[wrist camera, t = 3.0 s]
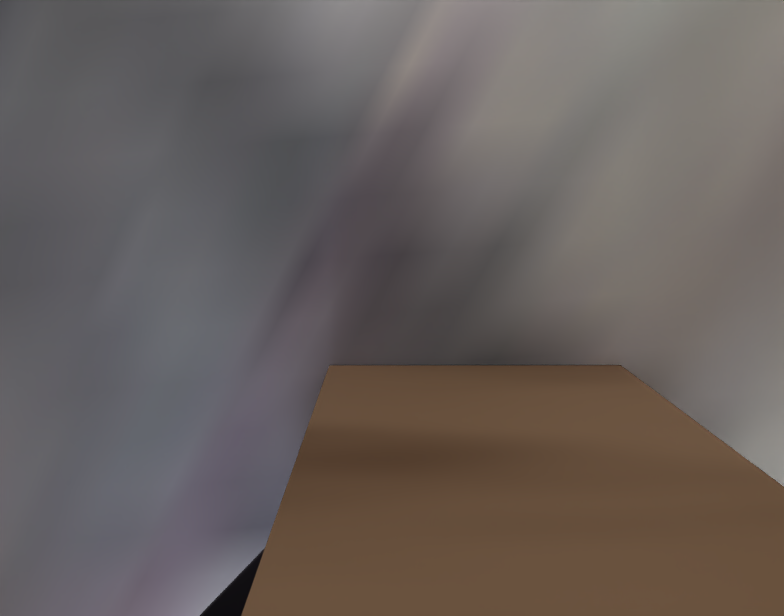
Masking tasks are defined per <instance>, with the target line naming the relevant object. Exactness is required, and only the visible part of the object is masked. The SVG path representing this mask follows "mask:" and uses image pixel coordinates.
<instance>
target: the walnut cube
mask: <svg viewBox="0 0 784 616" xmlns="http://www.w3.org/2000/svg"><path fill="white" fill-rule="evenodd" d="M241 616H784V487H783V486H782V485H781V484H779V483H778V482H777V481H775V480H774V479H773V478H771V477H770V476H769V475H767V474H766V473H765V472H763V471H762V470H760V469H759V468H758V467H756V466H755V465H754V464H752V463H751V462H750V461H748V460H747V459H746V458H744V457H743V456H742V455H740V454H739V453H738V452H736V451H735V450H734V449H732V448H731V447H730V446H728V445H727V444H726V443H724V442H723V441H722V440H720V439H719V438H718V437H716V436H715V435H713V434H712V433H711V432H709V431H708V430H707V429H705V428H704V427H703V426H701V425H700V424H699V423H697V422H696V421H695V420H693V419H692V418H691V417H689V416H688V415H687V414H685V413H684V412H683V411H681V410H680V409H679V408H677V407H676V406H675V405H673V404H672V403H671V402H669V401H668V400H666V399H665V398H664V397H662V396H661V395H660V394H658V393H657V392H656V391H654V390H653V389H652V388H650V387H649V386H648V385H646V384H645V383H644V382H642V381H641V380H640V379H638V378H637V377H636V376H634V375H633V374H632V373H630V372H629V371H628V370H626V369H625V368H624V367H622V366H621V365H329V368H328V370H327V373H326V376H325V379H324V382H323V385H322V387H321V390H320V393H319V396H318V399H317V402H316V405H315V407H314V410H313V413H312V416H311V419H310V422H309V424H308V427H307V430H306V433H305V436H304V439H303V442H302V444H301V447H300V450H299V453H298V456H297V459H296V461H295V464H294V467H293V470H292V473H291V476H290V478H289V481H288V484H287V487H286V490H285V493H284V496H283V498H282V501H281V504H280V507H279V510H278V513H277V515H276V518H275V521H274V524H273V527H272V530H271V533H270V535H269V538H268V541H267V544H266V547H265V550H264V552H263V555H262V558H261V561H260V564H259V567H258V570H257V572H256V575H255V578H254V581H253V584H252V587H251V589H250V592H249V595H248V598H247V601H246V604H245V607H244V609H243V612H242V615H241Z"/></svg>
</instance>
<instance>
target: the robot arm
mask: <svg viewBox="0 0 784 616" xmlns="http://www.w3.org/2000/svg"><path fill="white" fill-rule="evenodd" d="M264 550H265V548H264V549H263V550H262V552H261V553H260V554H259V555H258V556H257V557H256V558H255V559H254V560H253V561H252V562H251V563H250V564H249V565H248V566H247V567H246V568H245V569H244V570H243V571H242V572H241V573H240V574H239V575H238V576H237V577H236V578H235V579H234V581H233V582H232V583H231V584H230V585H229V586H228V587H227V588H226V589H225V590H224V591H223V592H222V593H221V594H220V595H219V596H218V597H217V598H216V599H215V600H214V601H213V602H212V603H211V604H210V605H209V606H208V607H207V608H206V610H205V611H204V612H203V613H202V614H201V615H200V616H241V615H242V612H243V609H244V607H245V604H246V601H247V598H248V595H249V592H250V589H251V587H252V584H253V581H254V578H255V575H256V572H257V570H258V567H259V564H260V561H261V558H262V555H263V552H264Z"/></svg>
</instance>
